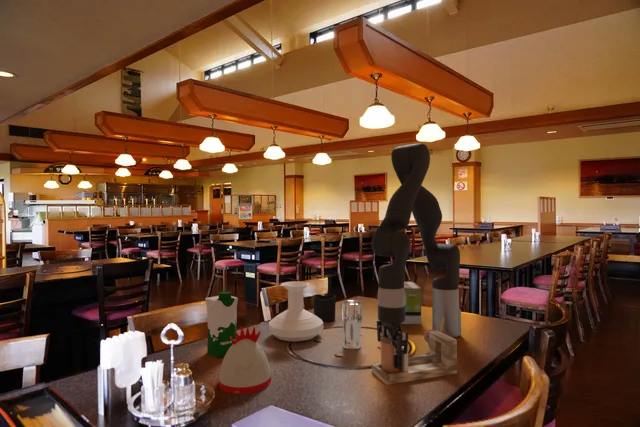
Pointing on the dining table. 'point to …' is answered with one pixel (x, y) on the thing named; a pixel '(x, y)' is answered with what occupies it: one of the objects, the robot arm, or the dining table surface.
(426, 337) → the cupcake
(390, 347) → the jar
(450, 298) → the robot arm
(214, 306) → the milk carton
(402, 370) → the pusher
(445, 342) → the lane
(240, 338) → the kitchen timer
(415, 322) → the tea box
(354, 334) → the beer glass
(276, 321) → the white vase
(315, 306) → the pen holder
